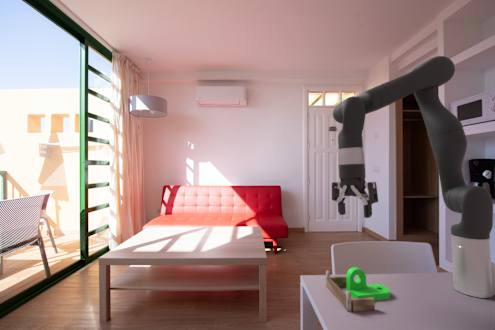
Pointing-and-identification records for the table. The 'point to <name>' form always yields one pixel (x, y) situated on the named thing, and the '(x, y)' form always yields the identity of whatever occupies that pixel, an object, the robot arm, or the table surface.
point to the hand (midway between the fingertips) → (354, 216)
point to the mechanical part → (364, 286)
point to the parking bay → (348, 295)
